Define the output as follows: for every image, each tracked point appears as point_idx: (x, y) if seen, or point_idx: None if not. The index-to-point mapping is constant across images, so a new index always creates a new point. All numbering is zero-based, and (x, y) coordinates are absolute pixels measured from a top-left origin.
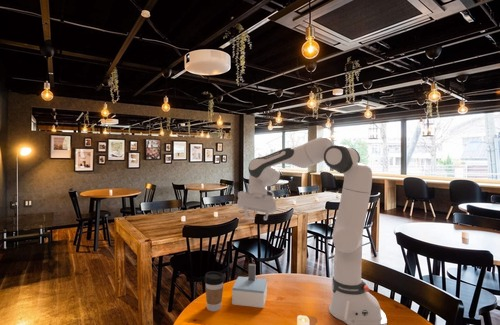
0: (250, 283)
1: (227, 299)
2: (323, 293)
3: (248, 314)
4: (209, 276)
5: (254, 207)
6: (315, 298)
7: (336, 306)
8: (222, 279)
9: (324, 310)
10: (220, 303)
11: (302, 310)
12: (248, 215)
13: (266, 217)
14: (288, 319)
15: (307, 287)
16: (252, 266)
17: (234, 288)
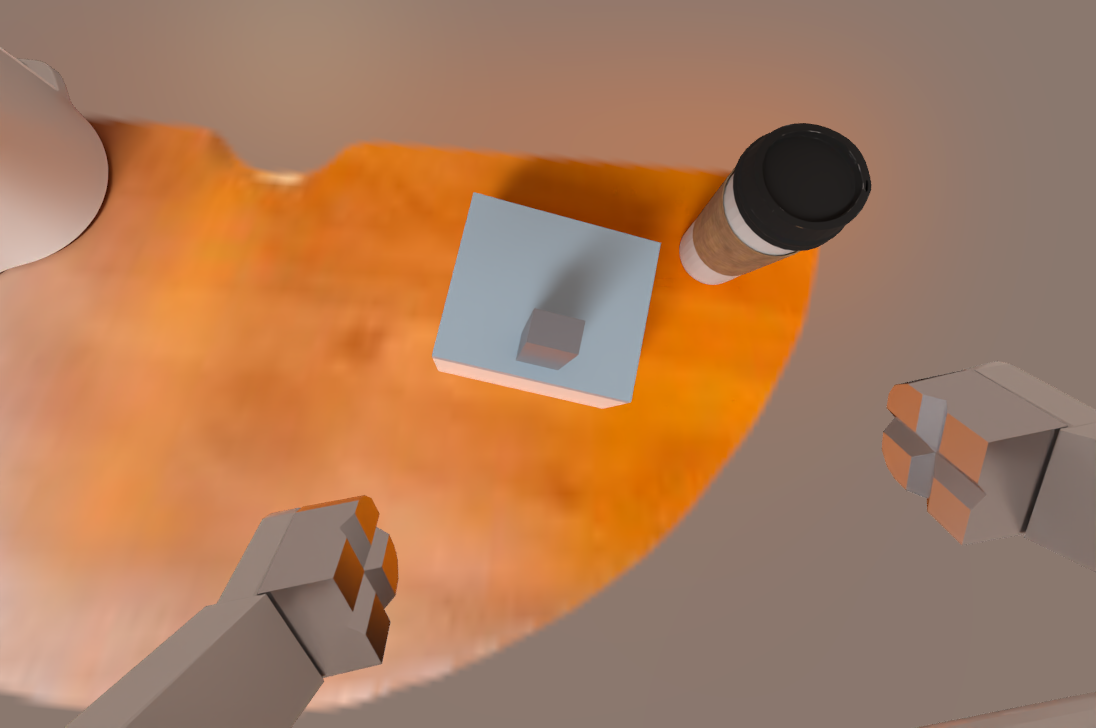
0: (551, 294)
1: (655, 338)
2: (49, 394)
3: (549, 201)
4: (837, 180)
5: (1067, 712)
6: (135, 333)
7: (48, 114)
8: (750, 153)
9: (133, 207)
10: (694, 223)
11: (263, 215)
12: (949, 375)
13: (286, 535)
14: (360, 148)
15: (135, 478)
16: (552, 314)
17: (647, 239)
